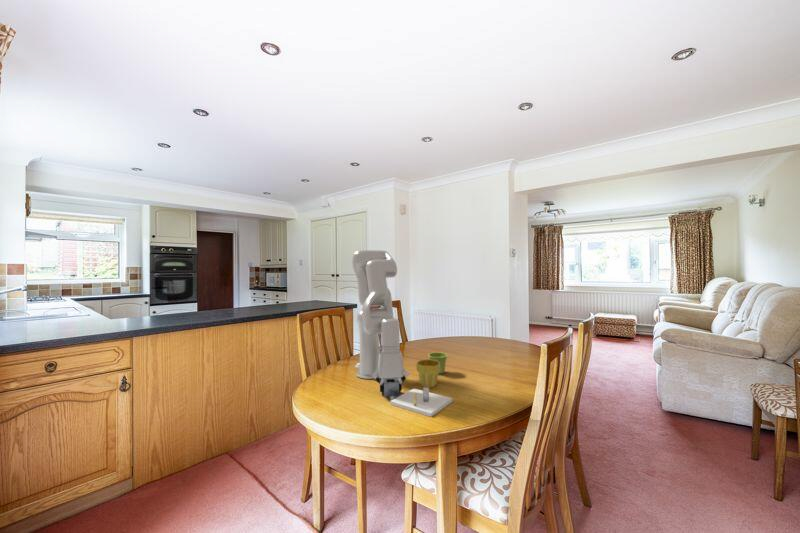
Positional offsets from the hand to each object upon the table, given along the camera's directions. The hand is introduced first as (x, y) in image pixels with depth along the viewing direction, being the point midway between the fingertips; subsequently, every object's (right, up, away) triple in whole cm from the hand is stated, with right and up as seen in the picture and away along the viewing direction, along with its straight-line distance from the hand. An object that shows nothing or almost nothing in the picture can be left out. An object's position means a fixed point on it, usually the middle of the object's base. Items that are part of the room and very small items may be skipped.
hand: (390, 392), depth 136 cm
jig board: (+12, -1, -9) cm, 15 cm away
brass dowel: (+9, +1, -14) cm, 17 cm away
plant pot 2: (+16, -1, +10) cm, 19 cm away
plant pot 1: (+22, -1, +27) cm, 35 cm away
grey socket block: (0, -1, -2) cm, 2 cm away
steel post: (+14, +1, -10) cm, 17 cm away
